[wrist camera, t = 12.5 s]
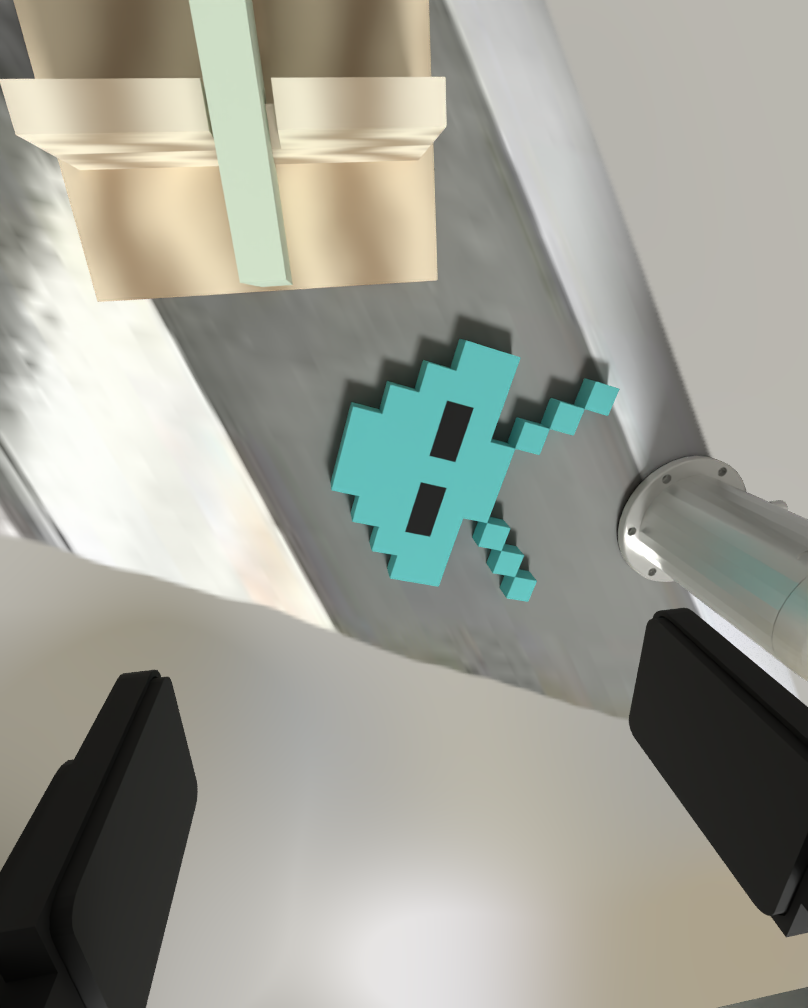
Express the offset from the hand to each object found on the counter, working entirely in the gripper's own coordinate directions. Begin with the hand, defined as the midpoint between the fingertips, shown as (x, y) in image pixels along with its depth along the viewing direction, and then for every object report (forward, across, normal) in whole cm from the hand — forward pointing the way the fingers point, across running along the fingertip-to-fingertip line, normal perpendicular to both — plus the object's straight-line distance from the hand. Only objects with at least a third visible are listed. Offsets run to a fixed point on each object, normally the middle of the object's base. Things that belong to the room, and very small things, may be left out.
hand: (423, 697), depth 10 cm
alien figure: (+32, -9, +6) cm, 33 cm away
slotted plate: (+29, +4, -16) cm, 34 cm away
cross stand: (+30, +5, -16) cm, 35 cm away
